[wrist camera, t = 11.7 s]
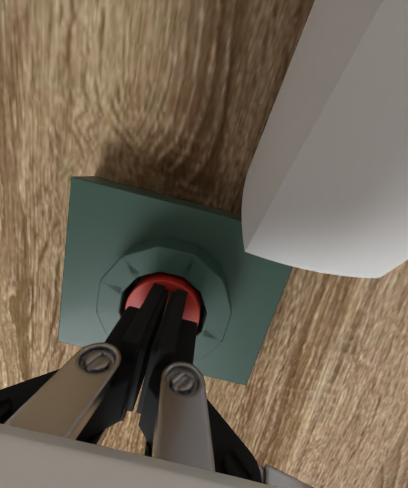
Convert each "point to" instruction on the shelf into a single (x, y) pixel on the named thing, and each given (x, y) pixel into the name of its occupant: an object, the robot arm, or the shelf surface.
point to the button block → (166, 271)
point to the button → (170, 284)
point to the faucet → (336, 147)
